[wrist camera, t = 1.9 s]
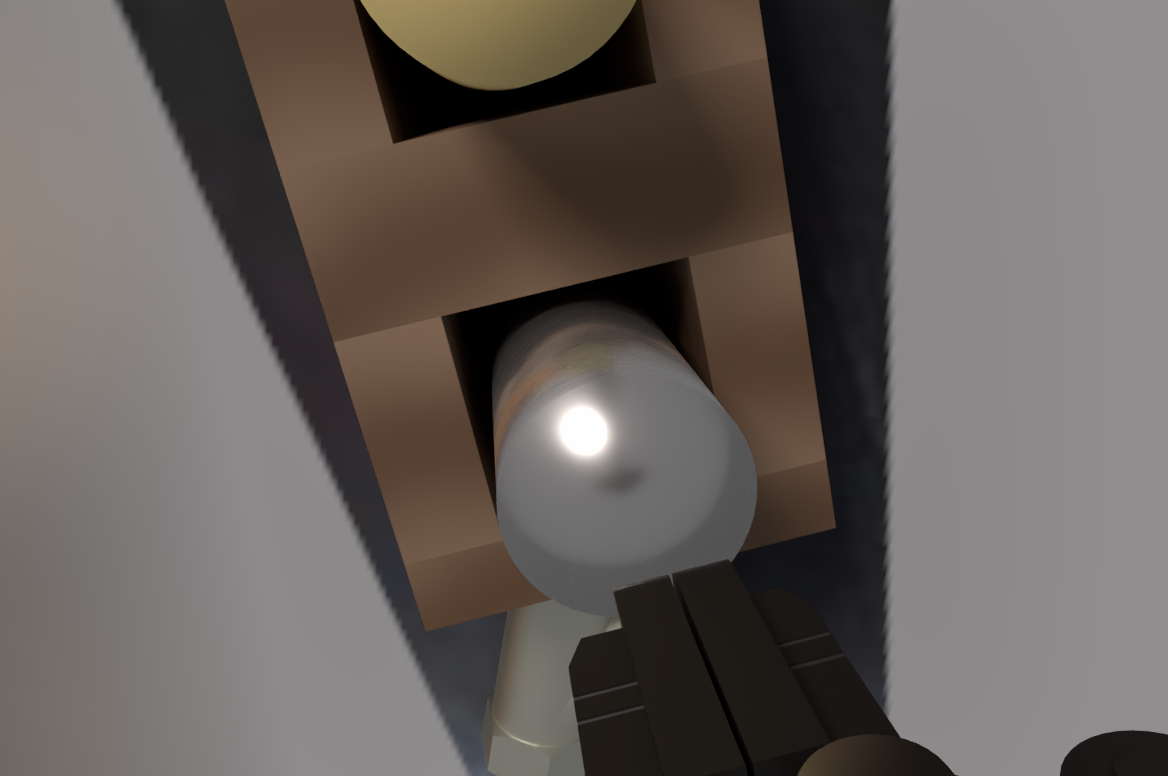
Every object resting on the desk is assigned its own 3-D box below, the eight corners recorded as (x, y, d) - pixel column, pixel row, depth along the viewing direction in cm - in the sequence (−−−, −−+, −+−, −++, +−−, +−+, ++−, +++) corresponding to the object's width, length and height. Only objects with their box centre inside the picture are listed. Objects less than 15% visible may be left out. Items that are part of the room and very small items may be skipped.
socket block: (254, -134, 23) (146, -246, 16) (633, -217, 24) (705, -366, 16) (439, 493, 29) (425, 631, 22) (744, 417, 29) (836, 527, 22)
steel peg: (470, 310, 22) (466, 411, 15) (651, 266, 22) (734, 346, 15) (515, 476, 23) (531, 644, 16) (684, 434, 23) (774, 582, 16)
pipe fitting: (708, 519, 31) (512, 505, 30) (749, 576, 28) (527, 563, 26) (664, 719, 33) (479, 715, 32) (696, 796, 30) (489, 796, 28)
